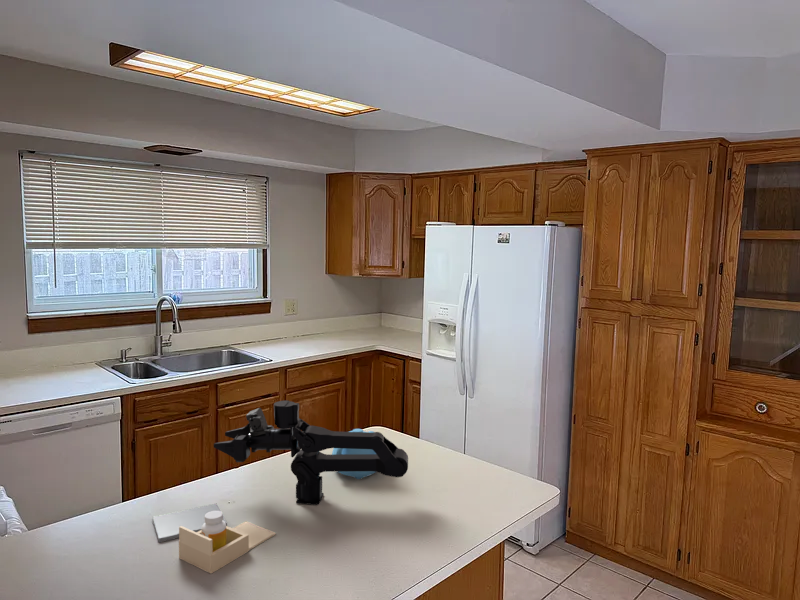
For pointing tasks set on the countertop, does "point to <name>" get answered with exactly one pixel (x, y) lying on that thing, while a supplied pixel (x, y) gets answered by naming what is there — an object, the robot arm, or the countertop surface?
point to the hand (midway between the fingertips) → (219, 439)
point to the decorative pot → (355, 451)
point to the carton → (237, 543)
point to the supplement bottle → (215, 529)
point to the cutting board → (181, 521)
